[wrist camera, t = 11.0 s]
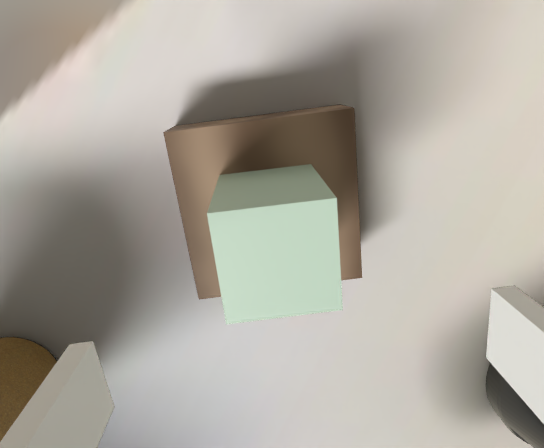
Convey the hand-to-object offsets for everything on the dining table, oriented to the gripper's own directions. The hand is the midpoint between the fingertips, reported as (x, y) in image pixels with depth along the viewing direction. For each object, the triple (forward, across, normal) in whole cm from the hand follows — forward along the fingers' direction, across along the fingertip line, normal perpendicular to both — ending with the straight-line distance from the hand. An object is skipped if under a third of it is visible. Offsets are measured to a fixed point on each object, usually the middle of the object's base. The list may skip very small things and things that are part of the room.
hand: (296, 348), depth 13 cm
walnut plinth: (+18, 0, 0) cm, 18 cm away
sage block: (+14, 0, 0) cm, 14 cm away
